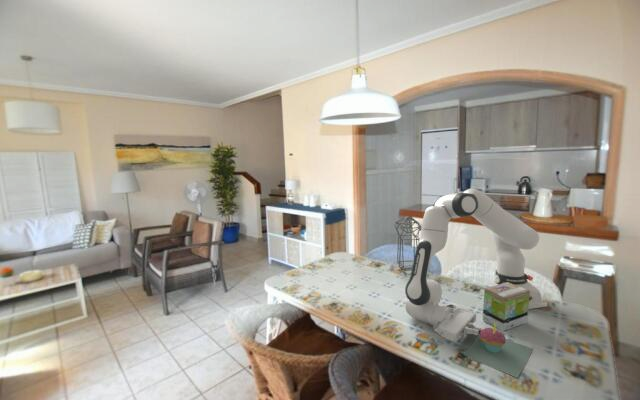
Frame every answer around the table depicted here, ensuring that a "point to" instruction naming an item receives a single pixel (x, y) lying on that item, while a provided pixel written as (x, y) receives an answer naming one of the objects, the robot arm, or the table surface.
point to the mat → (501, 356)
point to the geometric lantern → (406, 239)
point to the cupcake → (492, 339)
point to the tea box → (506, 305)
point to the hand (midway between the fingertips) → (479, 332)
